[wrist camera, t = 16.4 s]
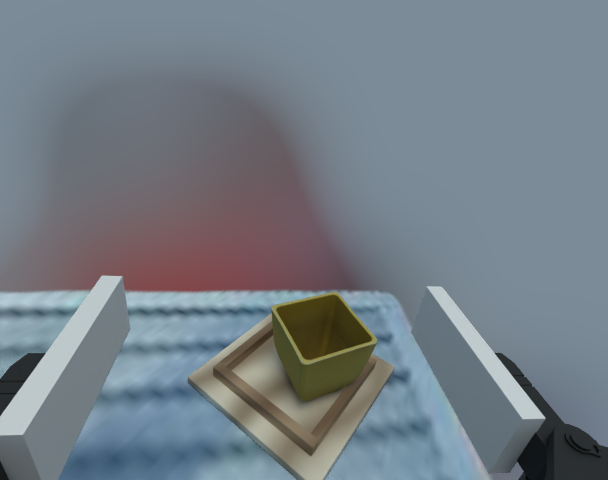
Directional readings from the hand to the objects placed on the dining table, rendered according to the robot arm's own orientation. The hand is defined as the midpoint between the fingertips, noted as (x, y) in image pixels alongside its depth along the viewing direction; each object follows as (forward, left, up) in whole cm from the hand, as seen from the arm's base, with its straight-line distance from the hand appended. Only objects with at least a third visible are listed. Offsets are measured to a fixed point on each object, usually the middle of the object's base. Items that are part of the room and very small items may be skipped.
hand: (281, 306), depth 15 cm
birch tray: (-7, +15, -25) cm, 31 cm away
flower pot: (-5, +16, -25) cm, 30 cm away
